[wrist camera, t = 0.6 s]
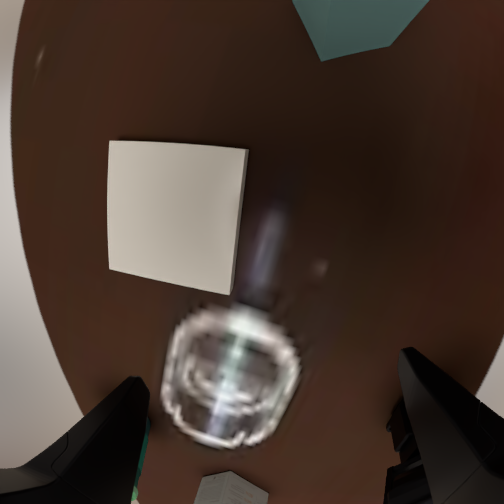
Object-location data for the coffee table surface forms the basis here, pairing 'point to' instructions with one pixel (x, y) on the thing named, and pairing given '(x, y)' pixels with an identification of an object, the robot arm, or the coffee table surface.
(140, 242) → the cream tile
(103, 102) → the coffee table surface
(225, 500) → the small box
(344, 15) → the teal block
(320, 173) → the coffee table surface
